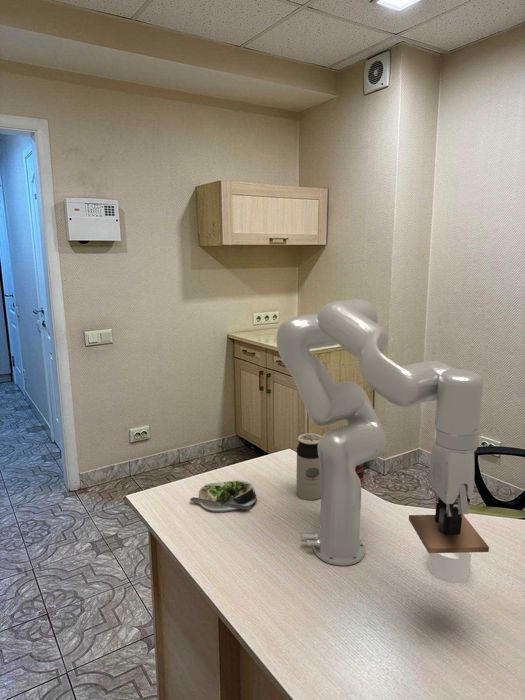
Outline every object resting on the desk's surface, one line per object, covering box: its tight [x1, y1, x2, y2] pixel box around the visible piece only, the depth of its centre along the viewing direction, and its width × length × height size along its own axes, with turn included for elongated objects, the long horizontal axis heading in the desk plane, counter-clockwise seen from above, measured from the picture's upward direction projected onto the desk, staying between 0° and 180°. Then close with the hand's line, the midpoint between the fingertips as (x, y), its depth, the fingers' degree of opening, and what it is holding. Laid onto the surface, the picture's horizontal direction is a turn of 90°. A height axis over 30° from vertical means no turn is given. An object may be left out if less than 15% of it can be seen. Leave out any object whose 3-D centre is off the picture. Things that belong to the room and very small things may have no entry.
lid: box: [408, 507, 490, 554], centre depth 94 cm, size 11×11×5 cm
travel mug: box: [295, 433, 323, 501], centre depth 147 cm, size 8×8×18 cm
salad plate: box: [189, 479, 258, 513], centre depth 145 cm, size 19×18×5 cm
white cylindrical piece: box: [427, 552, 473, 584], centre depth 113 cm, size 9×9×12 cm
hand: (447, 527), depth 94 cm, fingers closed on lid, 3 cm apart
